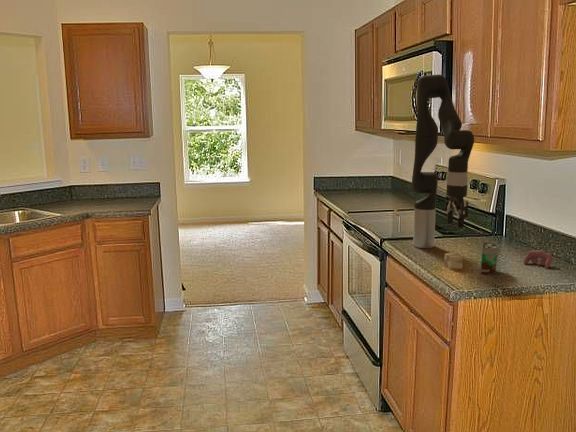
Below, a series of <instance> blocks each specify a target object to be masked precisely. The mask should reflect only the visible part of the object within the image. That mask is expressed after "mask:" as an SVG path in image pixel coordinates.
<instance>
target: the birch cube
mask: <svg viewBox="0 0 576 432" xmlns="http://www.w3.org/2000/svg"><path fill="white" fill-rule="evenodd" d="M463 259H464V256H463V255H461V254H459V252H450V253H449V252H448V253H444V262H443V263H444V264H443V265H444V267H446V268H448V269H449V270H457V269H458V270H459V269H460V270H461V269H463Z"/></svg>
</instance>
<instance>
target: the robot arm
mask: <svg viewBox="0 0 576 432" xmlns="http://www.w3.org/2000/svg"><path fill="white" fill-rule="evenodd" d="M449 87H450V86H449V83H448V81H447V78H446V77H445V76H444V75H443V74H427V75H426V74H425V75H421V76H420V77H419V78H418V81H417V87H416V88H417V89H416V93H417V95H416V96H417V98H416V99H417V103H416V104H417V106H416V107H417V108H416V110H417V112H416V113H417V115H416V126H415V138H414V139H415V140H414V161H413V168H412V177H411V190H412V192H413V193H415V194H427V196H425V197H423V198H421V199H418V200H416V201H415V202H414V207H413V208H414V210H413V212H414V214H413V233H412V235H413V236H412V245H413V247H415V248H418V249H419V248H420V249H431V248H435V237H436V236H435V235H436V209H437V207H436V206H437V192H438V185H439V184H438V183H439V181H438V179H439V177H438V174H437V173H436V172H435V171H434V172H433V171H422V169H423V167H424V165H425V162H426V161H427V160H428V158H429V157H430V156H431V154H432V153H433V152H434V150H435V149H436V148H437V146H438V139H439V127H438V125H437V122H436V121H435V119H434V118H433V116H432V114H431V112H430V110H429V106H428V104H429V103H428V102H429V100H428V99H438V98H439V99H440V100H441V102H440V107H439V108H438V111H437V112H438V113H437V117H438V121H439V123H440V125H441V128H442V130H443V139H444V145H445V147H446V148H448V149H449V150H459V152H458V153H457V154H455V155H452V156H450V157H449V158H448V164H447V165H448V166H447V169H448V170H447V176H446V193H445V194H446V196H444V208H443V209H444V212H445V213H446V215H447V217H446V223H447V224H449V225H451V224H453V223H454V213H456V216H457V228H458V229H463V228H464V226H465V225H464V224H465V219H466V218H468V217H469V201H468V200H467V201H466V200H464V198H467V196H468V182H469V180H468V179H469V178H468V177H469V175H468V170H469V169H468V167H469V159H470V156H471V154H472V150H473V147H474V144H475V136H474V134H473V132H472V131H470V130H463V129H462V126H463V124H462V121H461V119H460V116H459V115H458V112H457V110H456V108H455V105H454V102H453V99H452V98H453V97H452V95H451V94H452V93H451V91H450V88H449ZM461 129H462V130H461Z"/></svg>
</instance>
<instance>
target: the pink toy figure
mask: <svg viewBox="0 0 576 432" xmlns="http://www.w3.org/2000/svg"><path fill="white" fill-rule="evenodd" d="M538 258H539V259H540V260H539V259H538ZM553 260H554V256H553V255H552V254H551V253H550V252H547V251H546V250H541V249H530V251H528V252H527V254H526V255H525V257H524V259H523V264H524V265H526V264H529V262H530V261H531V264H533V265H537V264H538V263H539V265H541V266H543V267H545V269H548V268H549V267H550V266H551V264H552V261H553Z"/></svg>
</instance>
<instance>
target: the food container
mask: <svg viewBox="0 0 576 432" xmlns="http://www.w3.org/2000/svg"><path fill="white" fill-rule="evenodd" d="M499 253H501V249H500V246H499V244H497V243H495V242H492V241H491V242H490V241H483V245H482V250H481V262H480V263H481V264H480V265H481V266H480V274H482V275H490V274H495V273H496V268H497V261H498V257H499V256H498V255H499Z"/></svg>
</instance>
